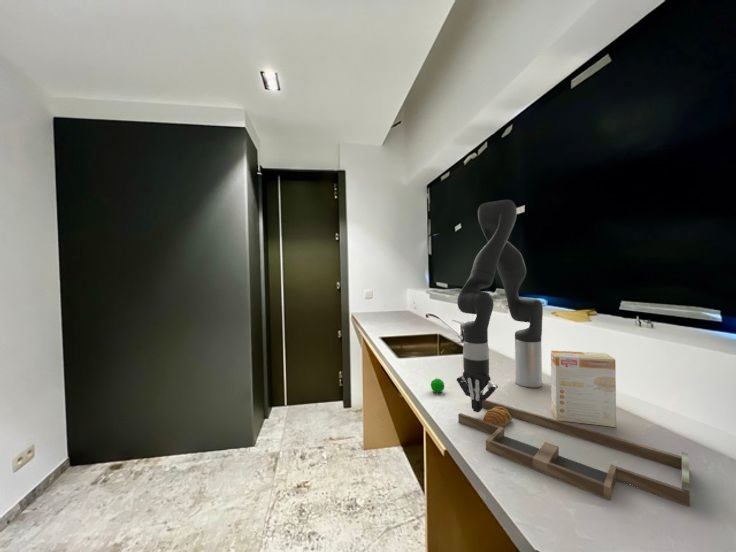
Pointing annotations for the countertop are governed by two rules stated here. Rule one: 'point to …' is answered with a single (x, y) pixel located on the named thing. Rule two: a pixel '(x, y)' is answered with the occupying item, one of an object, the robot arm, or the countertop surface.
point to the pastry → (498, 416)
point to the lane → (550, 452)
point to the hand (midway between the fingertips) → (476, 410)
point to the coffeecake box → (583, 387)
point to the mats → (557, 460)
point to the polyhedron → (437, 385)
